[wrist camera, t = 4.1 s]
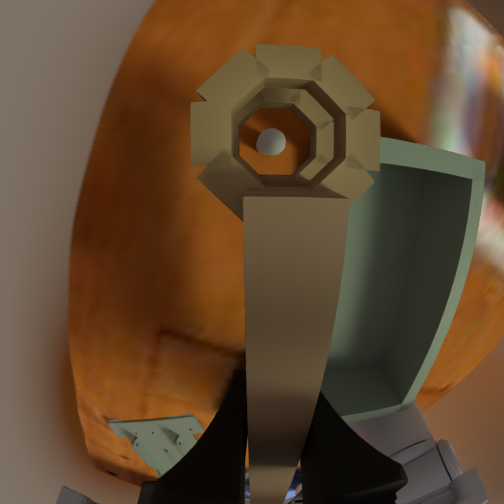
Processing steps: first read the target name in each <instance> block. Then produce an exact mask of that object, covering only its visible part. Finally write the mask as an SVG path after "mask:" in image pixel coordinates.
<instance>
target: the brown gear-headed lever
mask: <svg viewBox="0 0 504 504" xmlns="http://www.w3.org/2000/svg"><path fill="white" fill-rule="evenodd" d="M196 92H197V93H198V94H199V95H200V96H201V97H202V98H203V99H204V100H205V101H201V102H191V166H206V165H208V166H207V167H206V168H205V169H204V170H203V171H202V173H201V174H200V175H199V176H198V177H197V179H198V180H199V181H200V182H201V183H202V184H203V185H205V186H206V187H207V188H208V189H209V190H210V191H211V192H212V193H213V194H214V195H215V196H216V197H217V198H218V199H219V200H221V201H222V202H223V203H224V204H225V205H226V206H227V207H228V208H229V209H230V210H231V211H232V212H233V213H234V214H235V215H236V216H237V217H239V218H240V219H241V220H242V221H243V224H244V290H245V340H246V381H247V418H248V450H249V478H250V503H251V504H283V502H284V500H285V497H286V495H287V492H288V490H289V487H290V485H291V482H292V479H293V476H294V474H295V471H296V468H297V465H298V462H299V460H300V457H301V454H302V451H303V447H304V444H305V441H306V438H307V435H308V431H309V428H310V425H311V421H312V418H313V414H314V411H315V407H316V403H317V400H318V396H319V392H320V388H321V384H322V380H323V376H324V371H325V367H326V363H327V358H328V353H329V349H330V344H331V339H332V334H333V329H334V323H335V318H336V312H337V306H338V300H339V293H340V287H341V280H342V273H343V265H344V257H345V248H346V239H347V229H348V218H349V206H350V205H351V204H352V203H354V202H355V201H356V200H357V199H358V198H359V197H360V196H361V195H362V194H363V193H364V192H365V191H366V190H367V189H368V188H369V187H370V186H371V185H372V184H373V183H374V180H373V179H372V178H371V176H370V175H369V174H368V172H367V171H366V170H374V171H379V170H380V111H377V110H371V109H366V108H367V107H368V106H369V105H370V104H371V103H373V102H374V101H375V99H374V97H373V96H372V95H371V94H370V93H369V92H368V91H367V89H366V88H365V87H364V86H363V85H362V84H361V83H360V82H359V81H358V80H357V78H356V77H355V76H354V75H353V74H352V73H351V72H350V71H349V70H348V69H347V68H346V67H345V66H344V65H343V64H342V63H341V62H340V61H339V60H338V59H337V58H336V57H335V56H334V55H333V54H331V55H330V56H329V57H327V58H326V59H325V60H323V61H322V62H321V49H320V48H312V47H303V46H290V45H270V44H256V46H255V57H254V56H252V55H251V54H250V53H249V52H247V51H246V50H245V49H244V48H243V49H242V50H241V51H239V52H238V53H237V54H236V55H235V56H233V57H232V58H231V59H230V60H229V61H228V62H226V63H225V64H224V65H223V66H222V67H221V68H220V69H218V70H217V71H216V72H215V73H214V74H213V75H212V76H211V77H210V78H209V79H208V80H207V81H205V82H204V83H203V84H202V85H201V86H200V87H199V88H198V89H197V90H196ZM259 108H290V109H291V110H292V111H293V112H294V113H295V114H296V115H297V116H298V117H299V118H300V119H301V120H302V121H303V122H304V123H305V124H306V125H307V126H308V127H309V128H310V158H309V159H308V160H306V161H305V162H304V163H303V164H302V165H301V166H300V167H299V168H298V169H297V170H296V171H295V172H294V173H293V174H292V175H259V174H258V173H257V172H256V171H255V170H254V169H253V168H252V167H251V166H250V165H249V164H248V163H247V162H245V161H244V160H243V159H242V158H241V157H240V156H239V127H240V126H241V125H242V124H243V123H244V122H245V121H246V120H247V119H248V118H250V117H251V116H252V115H253V114H254V113H255V112H256V111H257V110H258V109H259ZM333 119H334V122H331V121H332V120H333Z"/></svg>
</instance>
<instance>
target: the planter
mask: <svg viewBox="0 0 504 504" xmlns="http://www.w3.org/2000/svg"><path fill="white" fill-rule="evenodd" d="M155 484H156V482H146V483H143V484H142V487H141V491H140V495H139V499H138V503H137V504H149V502H150V497H151V493H152V491H153V488H154V486H155Z"/></svg>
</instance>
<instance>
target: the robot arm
mask: <svg viewBox="0 0 504 504" xmlns="http://www.w3.org/2000/svg"><path fill="white" fill-rule="evenodd" d="M247 438H248V418H247V381H246V370H235V371H234V373H233V378H232V381H231V384H230V386H229V389H228V391H227V394H226V396H225V398H224V400H223V402H222V404H221V406H220V408H219V410H218V412H217V413H216V415H215V417H214V419H213V420H212V422H211V423H210V425H209V426H208V428H207V429H206V431H205V432H204V433H203V435H202V436H201V437H200V439H199V440H198V441H197V442H196V444H195V445H194V446H193V447H192V448H191V449H190V450H189V452H188V453H187V454H186V455H185V456H184V457H183V458H182V459H181V460H180V461H179V462H178V463H176V464H175V465H174V466H173V467H172V468H171V469H169V470H168V471H167V472H166V473H165V474H163V475H162V476H161V477H160V478H159V479H158V480H157V482H156V484H155V486H154V488H153V491H152V493H151V497H150V502H149V504H245V456H246V446H247ZM300 464H301V477H302V497H303V504H484V503H486V502H487V501H488V500H489V497H488V494H487V492H486V489H485V487H484V484H483V482H482V480H481V478H480V475H479V473H478V471H477V468H476V467H473V468H472V469H470V470H468V471H467V472H465V473H464V472H463V469H462V467H461V464H460V462H459V460H458V458H457V456H456V454H455V452H454V450H453V448H452V446H451V444H450V442H449V441H448V440H443V439H440V440H439V441H438V442H436V441H435V440H434V438H433V436H432V434H431V432H430V430H429V427H428V425H427V423H426V421H425V419H424V417H423V415H422V413H421V411H420V409H419V407H418V405H417V403H416V401H415V399H414V400H413V402H412V403H411V405H410V407H409V408H408V409H407V410H404V411H400V412H396V413H392V414H388V415H384V416H380V417H375V418H370V419H365V420H360V421H355V422H349V423H346V422H345V421H344V420H343V419H342V418H341V417H340V415H339V414H338V413H337V412H336V411H335V409H334V408H333V407H332V406H331V404H330V403H329V401H328V400H327V399H326V397H325V396H324V394H323V393H322V391H321V390H320V392H319V396H318V400H317V403H316V407H315V411H314V414H313V418H312V421H311V425H310V428H309V431H308V435H307V438H306V441H305V444H304V447H303V451H302V454H301V457H300ZM56 504H99V503H96V502H94V501H93V500H91V499H90V498H88V497H87V496H85V495H83V494H81V493H78V492H76V491H74V490H72V489H69V488H68V487H65V486H62V488H61V491H60V493H59V496H58V499H57V502H56Z"/></svg>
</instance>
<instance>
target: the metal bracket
mask: <svg viewBox="0 0 504 504" xmlns="http://www.w3.org/2000/svg"><path fill="white" fill-rule="evenodd" d="M108 425H109V426H110V428H111V429H112V430H113V432H114V433H115V434H116V436H118V437H127V438H129V439H130V441H131V446H132V448H133V449H134V450H135V451H136V453H137V454H138V455H139V456H140V457H141V458H142V460H143V461H144V462H145V463H146V464H148V465H149V466H151V467H152V468H154V469H155V470H156V472H157V474H158V476H159V478H160V477H161V476H162V475H163V474H165V473H166V472H167V471H168V470H169V469H171V468H172V467H173V466H174V465H175V464H176V463H178V462H179V461H180V460H181V459H182V458H183V457H184V456H185V455H186V454H187V453H188V452H189V450H190V449H191V448H192V447H193V446H194V445H195V444H196V442H197V440H196V438H195V437H194V436H193V434H195V433H203V432H204V429H203V427H202V426H201V424H200V423H199V421H198V420H197V418H196V417H195V416H194V415H193V414H185V415H177V416H169V418H161V419H151V420H138V421H122V420H113V421H108ZM189 428H191V429H192V430H191V429H189ZM170 430H171V431H172V432H171V431H170ZM153 432H154V433H153ZM122 433H123V434H122Z"/></svg>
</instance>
